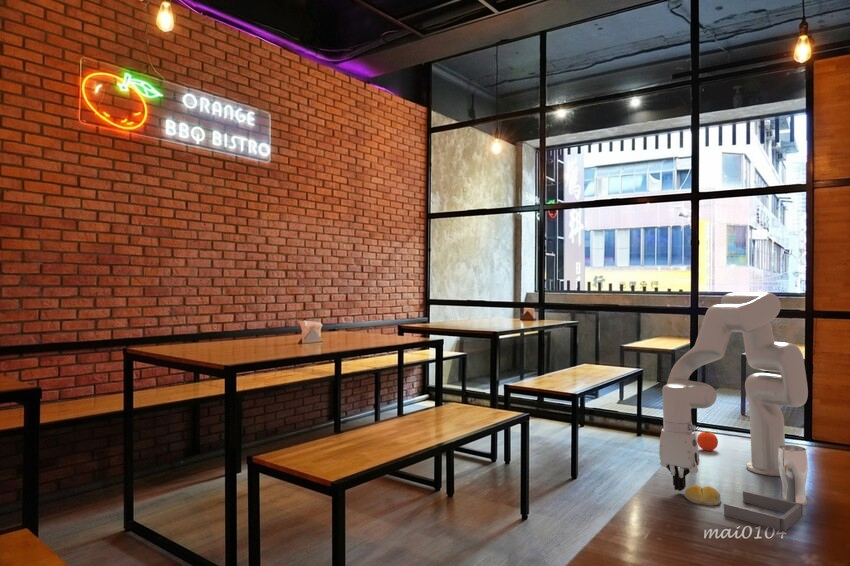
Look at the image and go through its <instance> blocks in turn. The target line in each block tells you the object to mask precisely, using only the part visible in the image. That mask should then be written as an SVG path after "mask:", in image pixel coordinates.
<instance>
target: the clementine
mask: <svg viewBox="0 0 850 566" xmlns="http://www.w3.org/2000/svg"><path fill="white" fill-rule="evenodd" d="M696 440H697V445H698V447H699V448H700V449H702V450H703V451H706V450H707V451H706V452H710V451H714V450H715V449H717V447H718V444H719V440H718V438H717V436H716V435H715V434H714V433H713V432H711V431H709V430H706V431H702V432H700V433H699V434H698V435H697V436H696Z"/></svg>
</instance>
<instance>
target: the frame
mask: <svg viewBox="0 0 850 566" xmlns="http://www.w3.org/2000/svg"><path fill="white" fill-rule="evenodd" d="M742 502H743V503H746V504H749V505H754V506H757V505H758V506H757V507H761V508H766V509H770V510H773V511H777V512H782V513H784V514H783V515H782V516H778V515H774V514H771V513H767V512H763V511H758V510H755V509H751V508H747V507H743V506H739V505H736V504H731V503H727V502H724V503H723V516H725V517H729V518H733V519H737V520H741V521H744V522H747V523H752V524H755V525H758V526H762V527H765V528H766V527H767V528H769V527H771V528H770V529H773V528H774V529H773V530H776V531H781V532H786V531H788V529H789V528H790V527H792V526H793V525H794V524H795V523H796V522H797V521H798V520H799V519H801V518H802V517H803V516H804V514H803V511H804V510H803V506H802V504H800V503H796V502H791V501H787V500H783V499H781V498H778V497H774V496H769V495H765V494H761V493H756V492H753V491H749V490H743V491H742Z"/></svg>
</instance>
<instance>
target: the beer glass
mask: <svg viewBox="0 0 850 566" xmlns="http://www.w3.org/2000/svg"><path fill="white" fill-rule="evenodd" d="M808 460H809V459H808V454H807V448H805V447H803V446H801V445H800V446H799V445H794V444H785V445H779V446H778V467H779V472H780V476H779V477H780V481H781V486H782V490H781V491H782V492H781V497H780V499H783V500H787V501H791V502H796V503H800V504H802V507H803V506H804V505H805V506H807V505H808V500H807V495H806V486H807V478H808V470H809V463H808Z"/></svg>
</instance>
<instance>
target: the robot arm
mask: <svg viewBox="0 0 850 566" xmlns="http://www.w3.org/2000/svg"><path fill="white" fill-rule="evenodd" d="M781 305H782V304H781V301H780V299H779V297H778V296H777V295H776V294H774V293H772V292H766V291H765V292H761V291H760V292H759V291H758V292H756V291H755V292H754V291H753V292H750V291H749V292H747V291H745V292H744V291H742V292H739V291H738V292H730V293H726V294H724V295H723V296H722V297H721V299H720V304H719V303H718V304H713V305H711V306H709V307H708V309H707V310H706V312H705V315H704V318H703V320H702V323H701V327H700V328H699V333H698V335H697V338H696V341H695V344H694V346H693V347H692V348H690V350H688V351H686V353H685V354H683V355H682V356H681V357H680V358H679V359H678V360H677V361H676V362H675V363H674V364H673V367H672V368H671V371H670V372H669V376H668V379H667V382H666V384H665V385H663V386H662V388H661V389H662V394H661V395H662V419H663V420H662V421H663V423H662V424H663V428H662V429H661V433H660V437H659V448H658V449H659V453H658V454H659V465H661V466H662V467H665V468H666V469H667V470H668V471H669V472H670V475H671V476H672V484H673V486H674V487H673V488H674V491H679V492H682V491H683V490H686V485H687V484H686V483H687V481H686V476H688V475H689V474H696V473H698V472H699V468H698V466H699V465H700V453H699V452H700V451H699V445H698V443H697V436H696V433H695V432H693V431H696V430H697V426H696V425H695V424H693V422H692V409H707V408H710V407H712V406H713V405H714V404H715V403H716V401H717V391H716V389H715V388H714V387H713V386H712V385H710V384H708V383H705V382H701V381H695V380H694V381H693V380H689V378H690V376H691V375H692V374H693V372H695V370H697V369H699V368H700V367H702V366H705V365H708V364H709V363H714V362H716V361H719V360H721V359H722V358H724V357H725V354H726V351H727V348H728V345H729V342H730V338H731V336H732V333H742V338H743V345H744V351H745V357H746V362H747V364H748V366H750V368H752V369H755V370H760V371H766V372H756V373H752V374H750V375H748V376H747V378H746V379H745V382H744V389H745V392H746V397H747V403H748V407H749V424H750V425H749V432H750V455H751V456H750V458H751V461H749V462H747V463H746V464H745V466H746V469H747V470H748V471H750V472H753V473H755V474H759V475H764V476H770V477H771V476H772V477H780V472H779V467H778V446H779V445H786V441H785V440H786V437H785V418H784V417H785V416H784V414H783V412H782V409H781V408H780V406H781V407H782V406H783V407H790V408H799V407H802V406H804V405H805V404H806V403H807V400H808V396H809V394H808V393H809V390H808V388H809V387H808V380H807V374H806V373H807V372H806V367H805V366H806V365H805V360H804V355H803V352H802V351H801V349H800V347H798V346H797V345H796V344H794V343H791V342H786V341H785V342H784V341H783V342H782V341H777V340H775V337H774V336H775V335H774V332H773V326H772V323H771V321H773V320H774V319H776V317H777V316H778V315H779V313H780V311H781ZM767 371H768V372H776V373H780V374H775V373H768V372H767Z"/></svg>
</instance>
